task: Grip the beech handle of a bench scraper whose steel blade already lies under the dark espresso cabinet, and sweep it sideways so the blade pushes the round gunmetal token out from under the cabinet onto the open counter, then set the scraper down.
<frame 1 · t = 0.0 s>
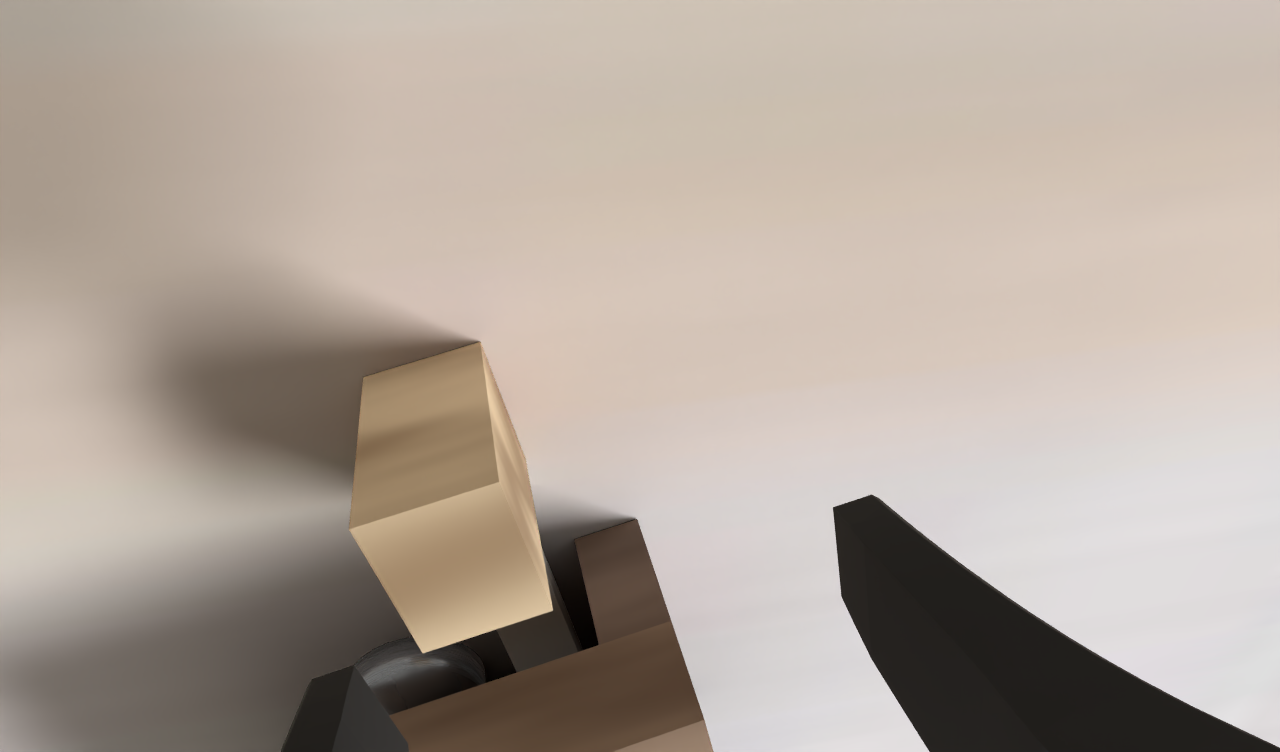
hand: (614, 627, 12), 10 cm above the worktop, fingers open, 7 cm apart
cabinet: (482, 682, 27), on the worktop
token: (416, 676, 27), on the worktop
scraper: (449, 420, 21), on the worktop
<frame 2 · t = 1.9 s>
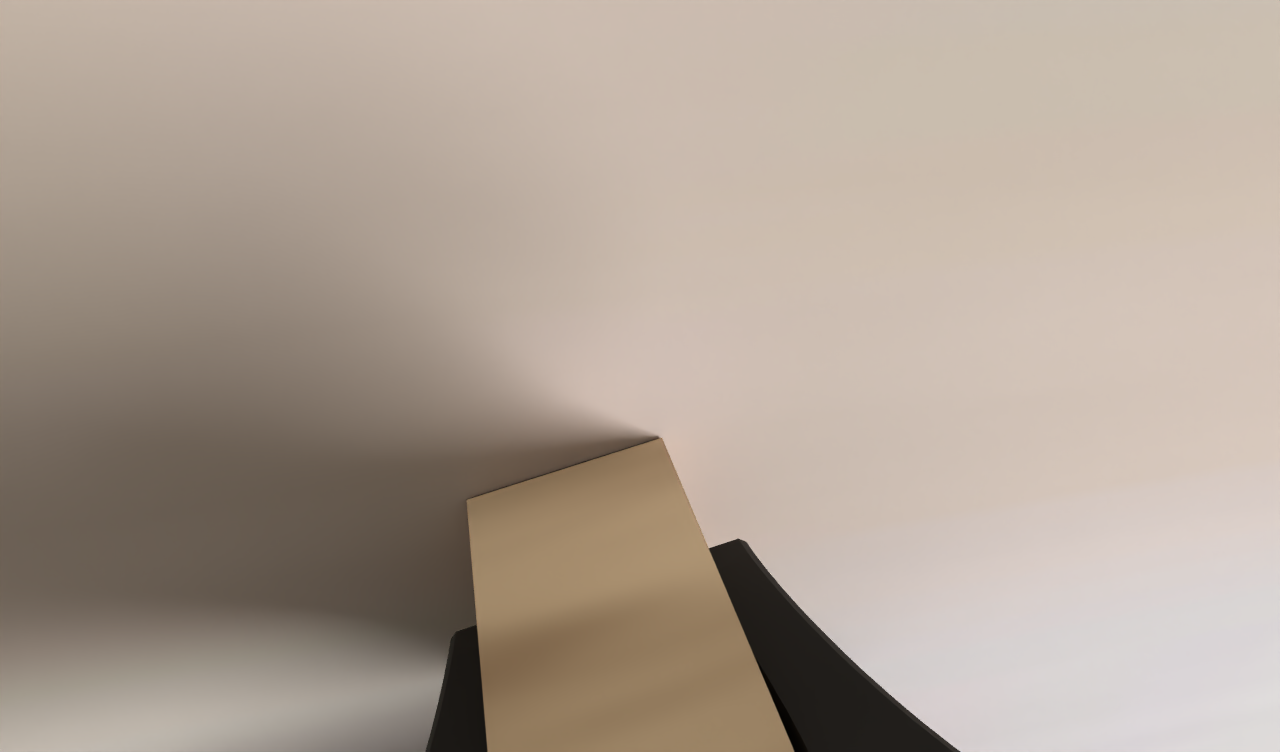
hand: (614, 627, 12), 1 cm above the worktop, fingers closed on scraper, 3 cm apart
scraper: (596, 558, 13), on the worktop, touching gripper
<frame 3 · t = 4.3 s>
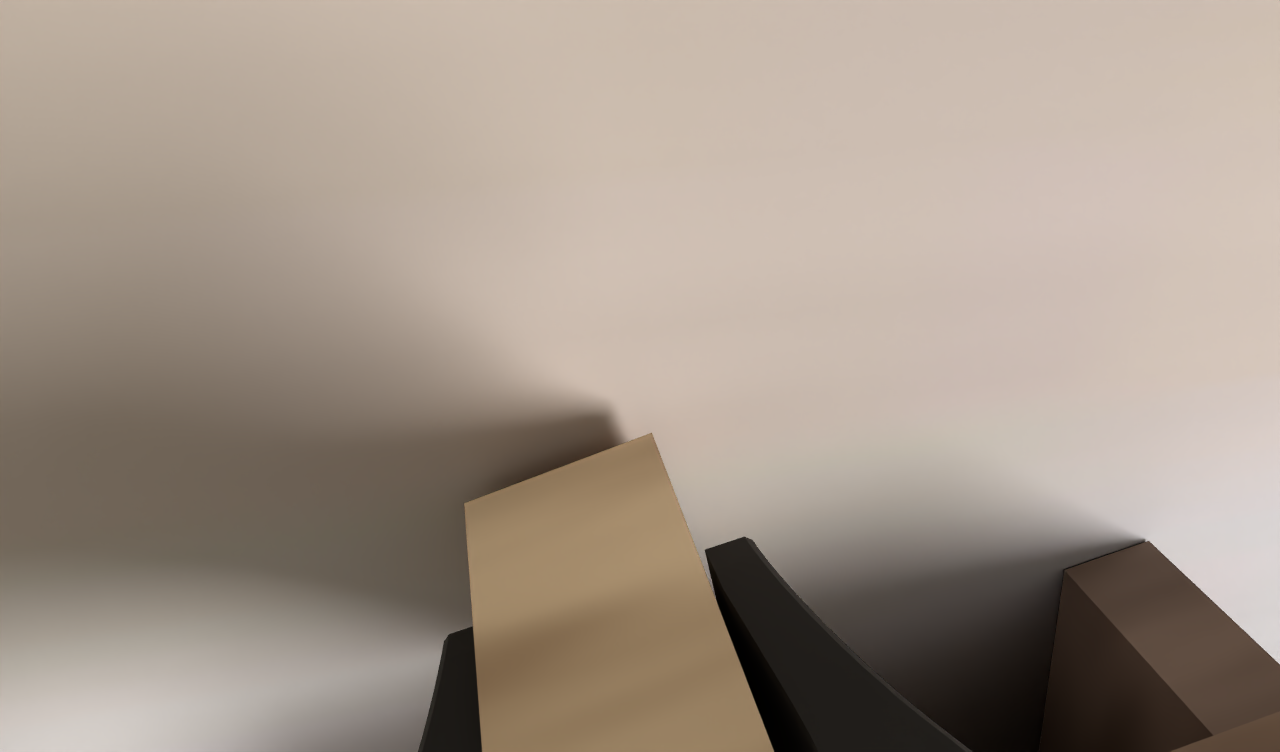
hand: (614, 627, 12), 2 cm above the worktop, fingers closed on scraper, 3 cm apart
scraper: (598, 551, 13), on the worktop, touching gripper, token
when the fingers open (1 cm above the worktop, at t = 6.3 s): scraper stays where it is, on the worktop.
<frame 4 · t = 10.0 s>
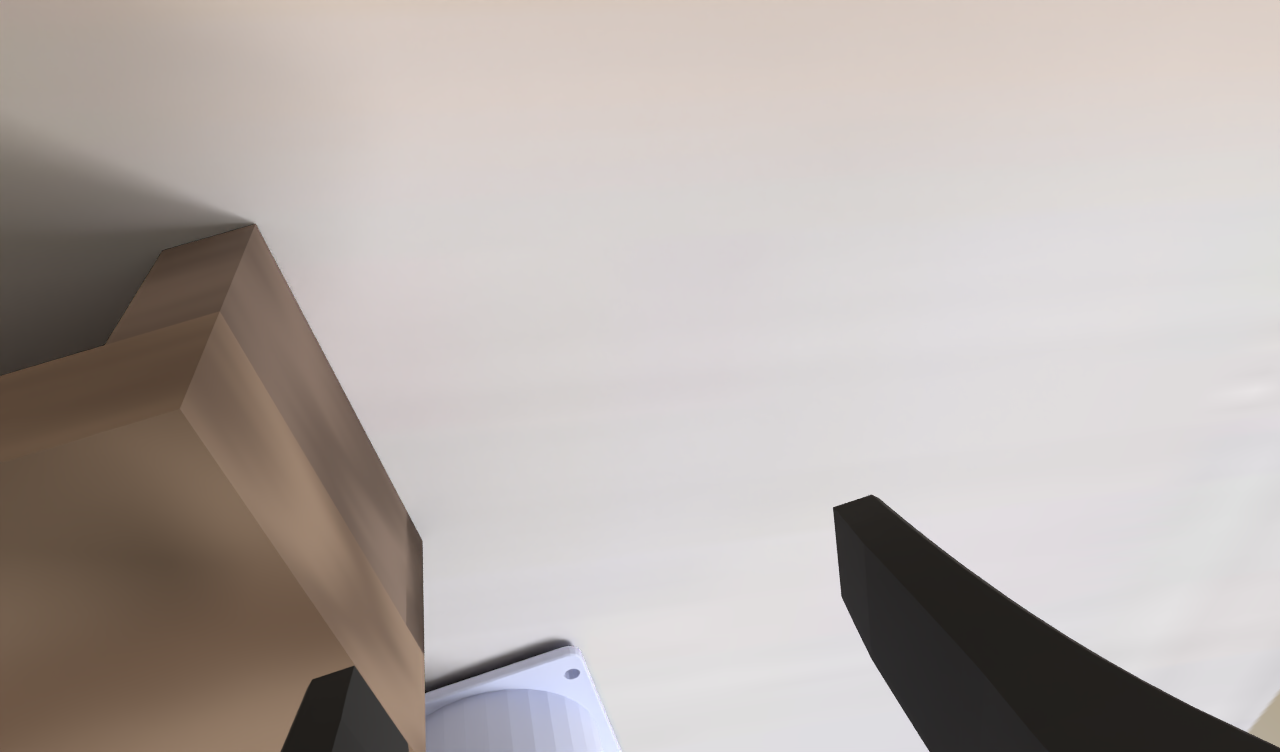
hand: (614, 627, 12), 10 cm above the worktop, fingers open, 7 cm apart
cabinet: (88, 485, 20), on the worktop
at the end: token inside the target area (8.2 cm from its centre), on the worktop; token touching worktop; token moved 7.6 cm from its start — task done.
